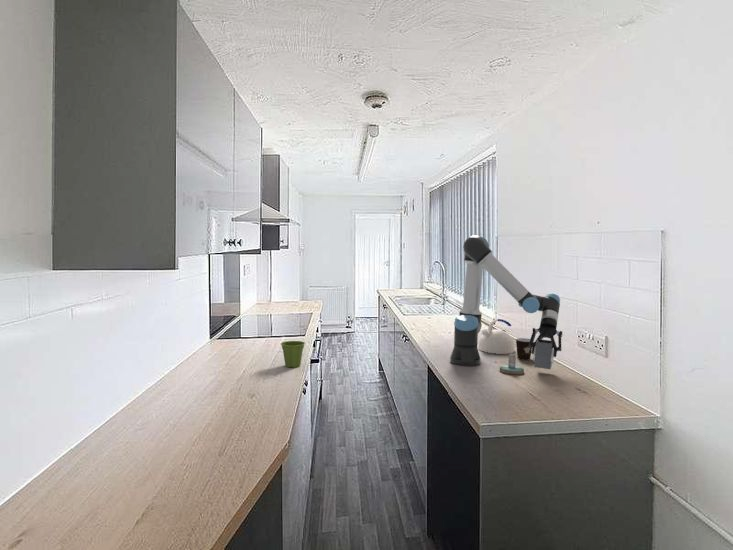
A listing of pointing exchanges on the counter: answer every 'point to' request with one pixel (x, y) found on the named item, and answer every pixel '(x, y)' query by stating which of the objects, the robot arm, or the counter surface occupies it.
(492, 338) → the kettle
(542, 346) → the grey square holder
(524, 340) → the coffee mug
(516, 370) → the post stand
